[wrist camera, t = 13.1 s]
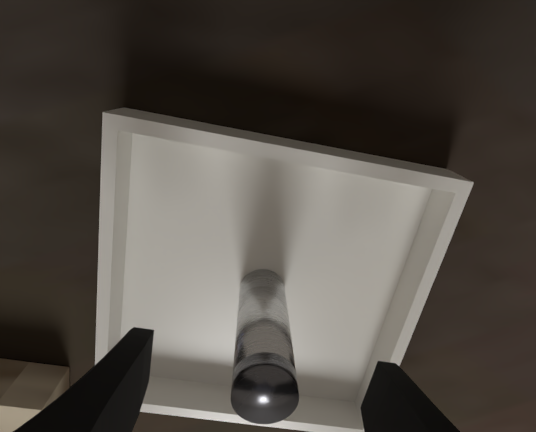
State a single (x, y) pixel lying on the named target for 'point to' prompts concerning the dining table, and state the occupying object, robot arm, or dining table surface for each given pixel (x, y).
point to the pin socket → (28, 390)
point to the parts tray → (263, 258)
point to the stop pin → (263, 352)
